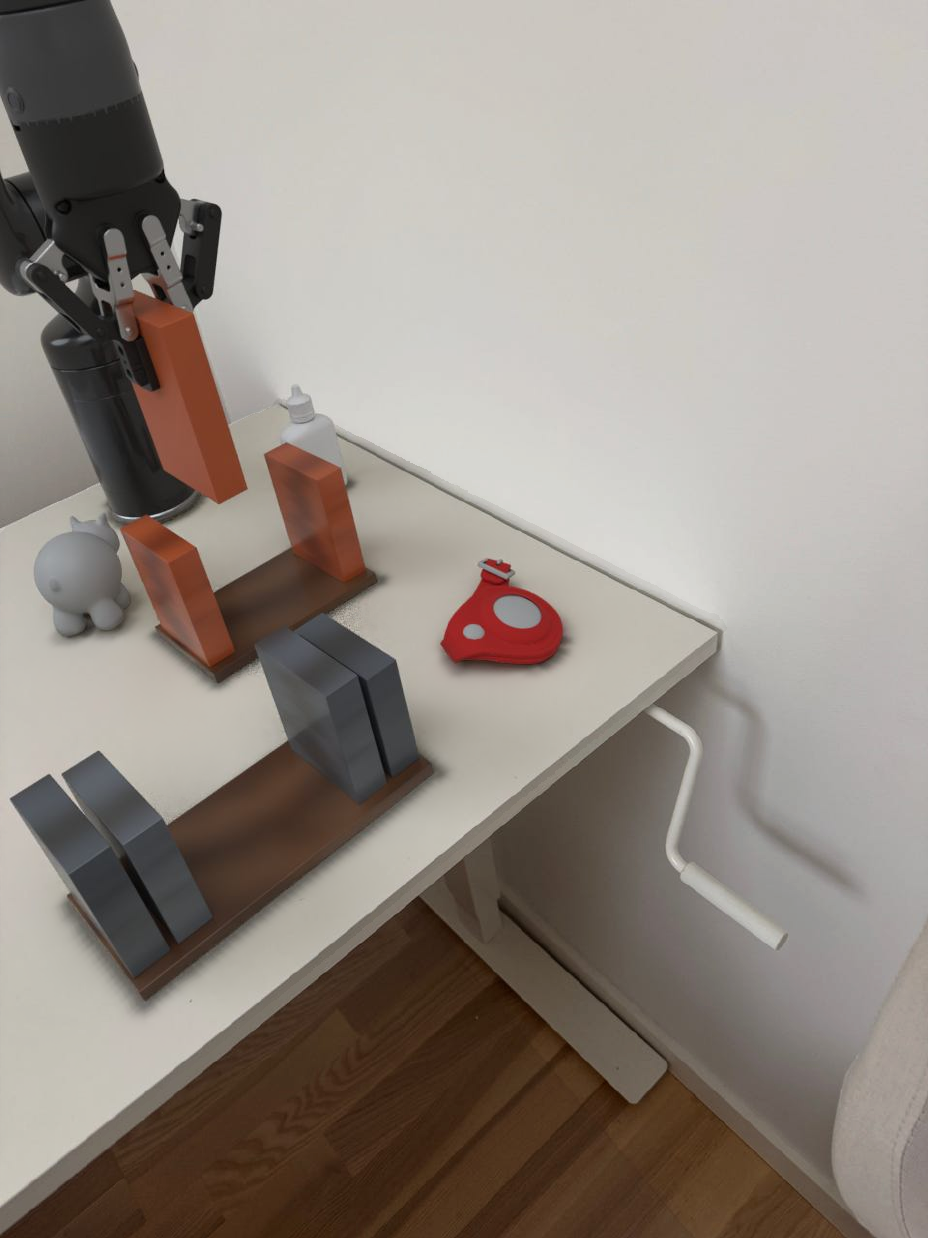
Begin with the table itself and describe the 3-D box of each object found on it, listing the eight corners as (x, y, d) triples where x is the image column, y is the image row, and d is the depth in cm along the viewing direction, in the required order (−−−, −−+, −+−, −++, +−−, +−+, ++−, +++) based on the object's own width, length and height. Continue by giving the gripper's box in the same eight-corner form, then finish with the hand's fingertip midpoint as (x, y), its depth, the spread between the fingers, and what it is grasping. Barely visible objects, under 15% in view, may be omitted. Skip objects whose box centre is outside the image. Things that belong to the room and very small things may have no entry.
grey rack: (71, 904, 62) (-3, 792, 55) (347, 709, 73) (314, 595, 66) (144, 1002, 56) (71, 889, 49) (434, 772, 67) (407, 654, 60)
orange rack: (158, 635, 84) (110, 525, 77) (312, 544, 92) (282, 437, 85) (217, 683, 77) (171, 569, 70) (377, 581, 86) (351, 469, 78)
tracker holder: (591, 630, 74) (486, 663, 69) (576, 669, 77) (474, 704, 72) (506, 536, 81) (405, 560, 76) (495, 575, 84) (397, 601, 79)
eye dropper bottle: (294, 489, 101) (263, 383, 93) (345, 476, 101) (320, 370, 94) (299, 509, 97) (268, 401, 90) (352, 495, 98) (326, 387, 90)
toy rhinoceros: (161, 559, 93) (131, 484, 88) (124, 638, 84) (88, 559, 79) (91, 566, 94) (57, 492, 89) (47, 645, 85) (5, 567, 80)
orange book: (163, 470, 72) (101, 301, 64) (192, 456, 73) (134, 289, 65) (219, 505, 67) (159, 327, 59) (248, 489, 68) (194, 313, 60)
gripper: (150, 65, 60) (227, 330, 71) (-70, 122, 53) (52, 405, 64) (212, 70, 55) (284, 353, 66) (-21, 135, 49) (102, 437, 59)
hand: (169, 377), depth 65 cm, fingers closed on orange book, 2 cm apart
